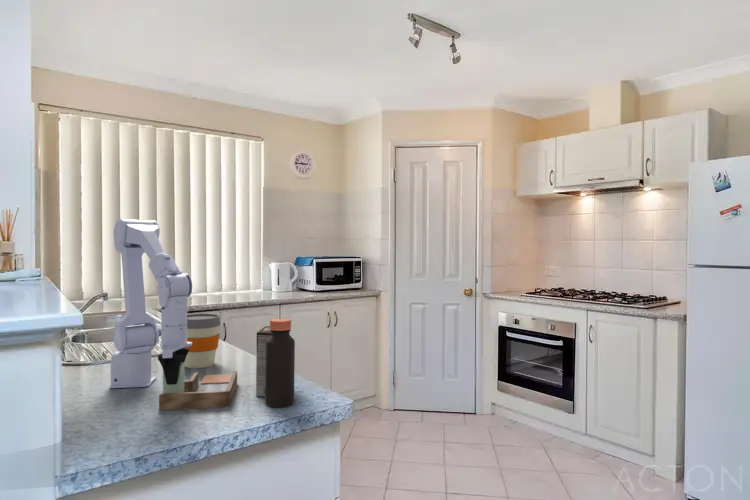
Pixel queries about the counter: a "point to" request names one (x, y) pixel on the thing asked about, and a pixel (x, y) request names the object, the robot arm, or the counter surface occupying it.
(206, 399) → the channel
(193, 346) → the reusable coffee cup
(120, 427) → the counter surface
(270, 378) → the bottle
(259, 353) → the coffee box
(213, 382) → the tile
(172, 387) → the sage block
